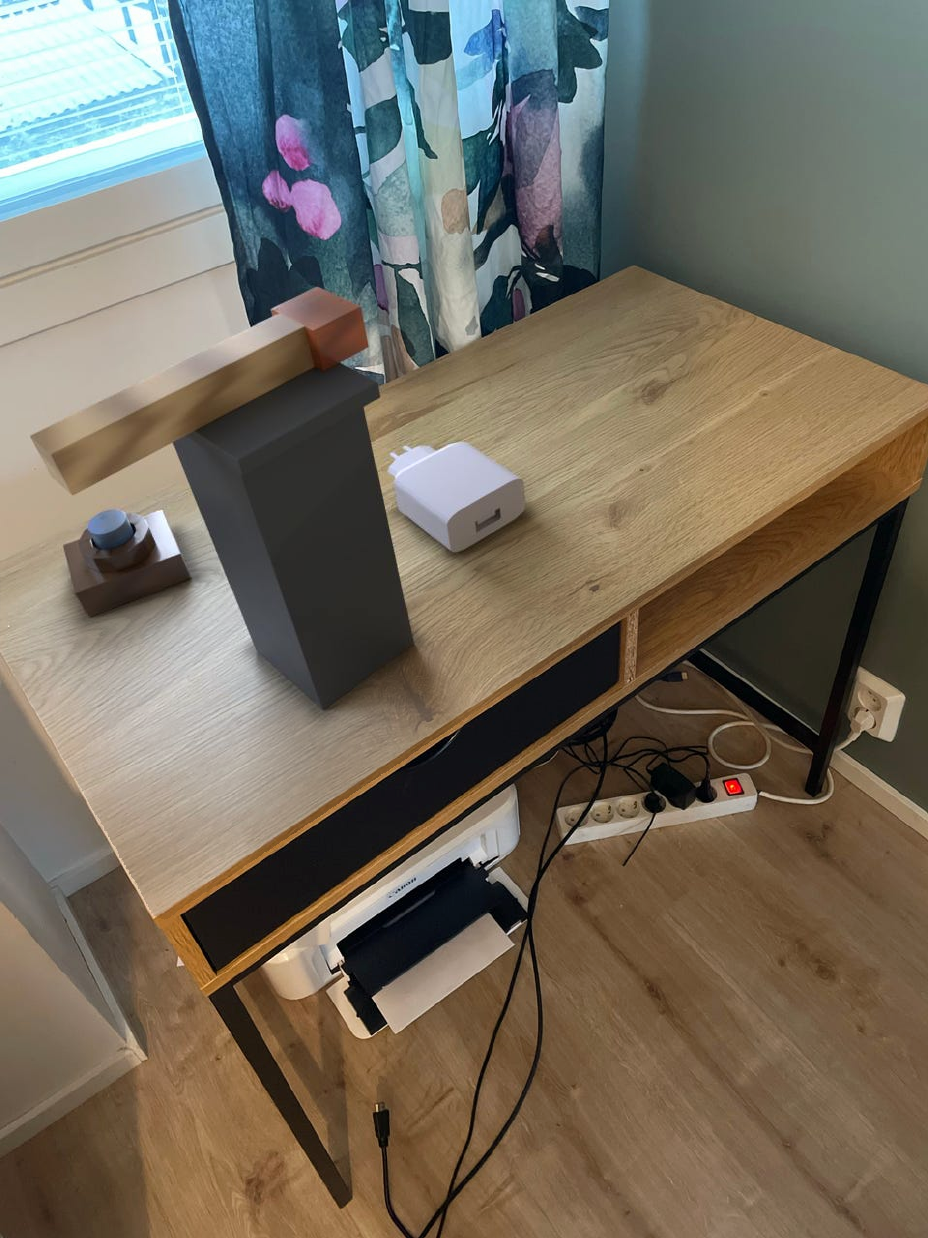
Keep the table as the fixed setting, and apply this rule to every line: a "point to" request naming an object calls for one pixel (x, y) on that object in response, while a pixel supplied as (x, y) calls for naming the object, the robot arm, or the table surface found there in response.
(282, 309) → the stick
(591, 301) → the table surface
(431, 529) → the charger
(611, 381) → the table surface
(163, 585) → the button base
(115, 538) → the plunger
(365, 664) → the stand
